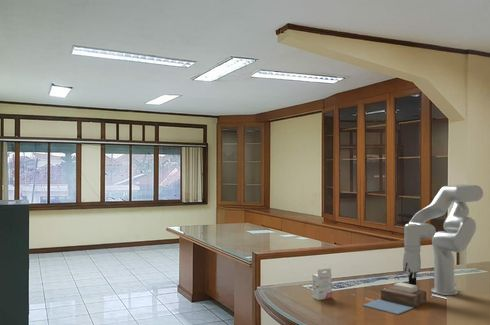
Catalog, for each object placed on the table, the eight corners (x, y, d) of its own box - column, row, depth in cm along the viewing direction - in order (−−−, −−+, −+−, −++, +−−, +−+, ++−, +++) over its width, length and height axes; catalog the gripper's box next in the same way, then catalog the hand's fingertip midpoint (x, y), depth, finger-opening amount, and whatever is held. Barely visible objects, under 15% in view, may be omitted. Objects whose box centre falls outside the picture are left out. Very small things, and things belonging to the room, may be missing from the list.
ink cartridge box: (325, 295, 223) (325, 266, 223) (332, 298, 219) (331, 268, 219) (312, 297, 219) (311, 268, 220) (318, 300, 215) (317, 269, 215)
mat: (378, 300, 215) (378, 299, 215) (413, 308, 201) (413, 307, 201) (362, 305, 206) (362, 304, 206) (397, 314, 192) (397, 313, 192)
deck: (395, 295, 224) (395, 285, 224) (426, 301, 212) (426, 291, 212) (381, 300, 214) (380, 290, 215) (412, 307, 202) (411, 296, 203)
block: (400, 287, 220) (400, 282, 220) (417, 290, 213) (417, 285, 213) (393, 289, 216) (393, 284, 216) (411, 293, 209) (411, 287, 209)
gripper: (412, 246, 228) (412, 282, 227) (397, 249, 218) (397, 286, 217) (426, 248, 222) (426, 284, 221) (412, 251, 212) (412, 289, 211)
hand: (412, 285), depth 219 cm, fingers closed
